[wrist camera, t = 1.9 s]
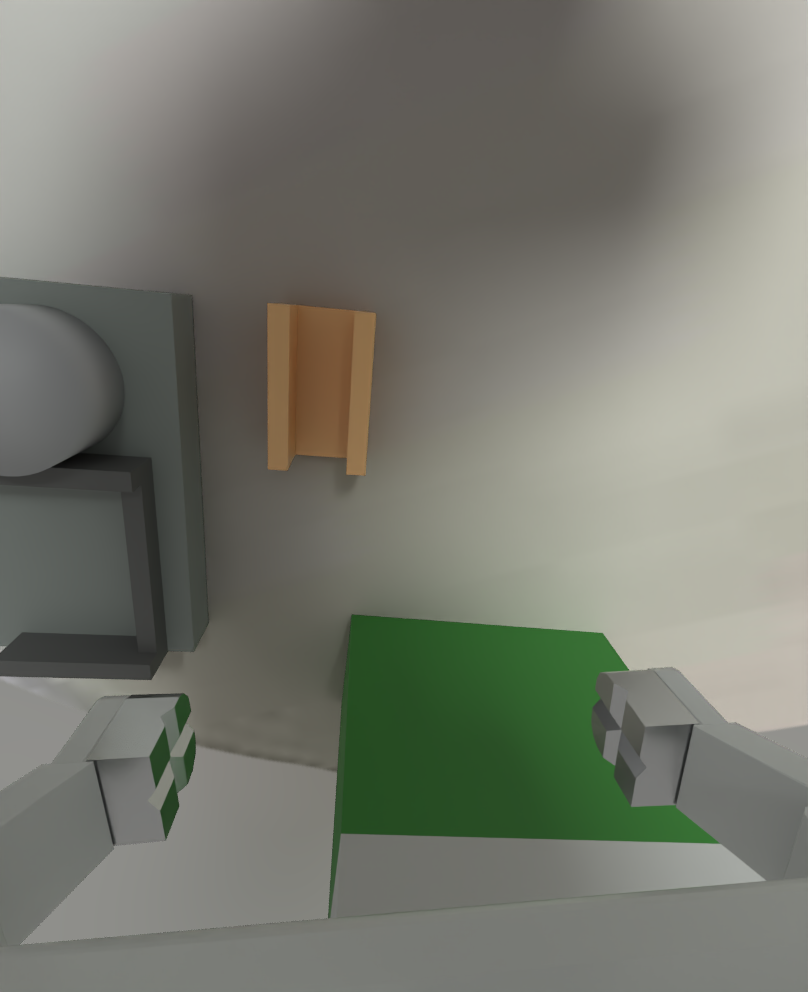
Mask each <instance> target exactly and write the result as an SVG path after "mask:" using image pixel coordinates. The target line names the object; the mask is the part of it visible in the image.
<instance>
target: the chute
mask: <svg viewBox="0 0 808 992" xmlns="http://www.w3.org/2000/svg"><path fill="white" fill-rule="evenodd" d="M375 326H376V313H375V312H365V311H355V310H344V309H334V308H323V307H313V306H302V305H292V304H281V303H267V361H268V469H269V470H285V471H288V469H289V467H290V465H291V462H292V460H293V458H294V456H295V455H308V456H323V457H338V458H347V468H346V474H347V475H362V476H365V474H366V459H367V444H368V429H369V415H370V400H371V385H372V370H373V355H374V341H375Z"/></svg>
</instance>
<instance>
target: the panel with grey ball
mask: <svg viewBox="0 0 808 992" xmlns="http://www.w3.org/2000/svg"><path fill="white" fill-rule="evenodd" d="M208 623H209V622H208V602H207V582H206V563H205V543H204V523H203V503H202V484H201V464H200V444H199V424H198V405H197V385H196V365H195V346H194V326H193V306H192V295H186V294H175V293H165V292H154V291H144V290H133V289H123V288H112V287H101V286H91V285H80V284H70V283H59V282H49V281H38V280H28V279H17V278H6V277H0V646H7V647H6V648H5V649H4V650H3V651H2V652H1V653H0V676H13V677H53V678H94V679H134V680H152V678H153V676H154V674H155V673H156V671H157V669H158V667H159V666H160V664H161V662H162V660H163V659H164V657H165V655H166V653H167V652H168V651H184V652H194V651H195V649H196V647H197V645H198V643H199V641H200V639H201V637H202V635H203V633H204V631H205V629H206V627H207V625H208Z"/></svg>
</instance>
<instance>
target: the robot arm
mask: <svg viewBox="0 0 808 992" xmlns="http://www.w3.org/2000/svg"><path fill="white" fill-rule="evenodd" d="M595 690H596V692H597V693H598V695H599V696H600V698H601V699H600V700H599V701H598V702H597V703H596V704H595V705H594V706H593V707H592V717H591V724H592V731H593V737H594V740H595V743H596V745H597V748H598V750H599V751H600V753H601V755H602V757H603V758H604V759H606V760H607V761H609V762H610V763H612V764H613V765H615V771H614V778H615V780H616V782H617V783H618V785H619V787H620V789H621V790H622V792H623V794H624V796H625V797H626V799H627V801H628V802H629V804H630V806H631V807H640V806H664V805H676V808H677V809H678V810H680V811H681V812H682V813H683V814H685V815H686V816H687V817H688V818H689V819H691V820H692V821H693V822H694V823H696V824H697V825H698V826H699V827H701V828H702V829H703V830H704V831H706V832H707V833H708V834H709V835H710V836H712V837H713V838H714V839H715V840H717V841H718V842H719V843H720V844H722V845H723V846H724V847H725V848H727V849H728V850H729V851H730V852H731V853H733V854H734V855H735V856H736V857H738V858H739V859H740V860H741V861H743V862H744V863H745V864H746V865H748V866H749V867H750V868H751V869H752V870H754V871H755V872H756V873H757V874H759V875H760V876H761V877H762V878H764V879H765V880H766V881H759V882H748V883H736V884H724V885H713V886H701V887H689V888H678V889H666V890H654V891H643V892H631V893H619V894H607V895H595V896H584V897H572V898H560V899H548V900H537V901H525V902H513V903H501V904H490V905H478V906H466V907H455V908H443V909H431V910H420V911H408V912H396V913H385V914H373V915H361V916H350V917H338V918H326V919H315V920H303V921H291V922H280V923H269V924H258V925H245V926H234V927H222V928H210V929H198V930H188V931H176V932H163V933H152V934H140V935H129V936H117V937H105V938H93V939H82V940H71V941H58V942H47V943H35V944H23V945H20V944H21V943H22V942H23V941H24V940H25V939H26V938H27V937H28V936H29V935H30V934H31V933H32V932H33V931H34V930H35V929H36V928H37V927H38V926H39V925H40V923H42V922H43V920H45V918H46V917H48V915H49V914H50V913H51V912H52V911H53V910H54V909H55V908H56V907H57V906H58V905H59V904H60V903H61V902H62V901H63V900H64V899H65V898H66V897H67V896H68V895H69V894H70V893H71V892H72V891H73V890H74V889H75V888H76V887H77V886H78V885H79V884H80V883H81V882H82V881H83V880H84V879H85V878H86V877H87V876H88V875H89V874H90V873H91V872H92V871H93V870H94V869H95V867H97V866H98V865H99V864H100V863H101V862H102V861H103V860H104V858H105V857H106V856H107V855H108V854H109V853H110V852H111V851H112V850H113V849H114V846H117V845H126V844H136V843H147V842H156V841H165V840H166V838H167V836H168V833H169V830H170V828H171V826H172V823H173V821H174V818H175V815H176V813H177V810H178V808H179V802H178V796H177V793H178V792H179V791H180V790H182V789H183V788H184V787H185V786H186V785H187V784H188V782H189V779H190V776H191V773H192V771H193V765H194V759H195V754H196V753H195V752H196V740H195V733H194V730H193V729H192V728H191V727H190V726H189V725H188V724H187V723H186V721H187V719H188V717H189V715H190V712H191V708H190V703H189V698H188V696H187V695H185V694H184V693H182V694H148V695H131V696H129V695H124V696H104V697H102V698H100V699H99V700H97V701H96V703H95V704H94V705H93V707H92V708H91V709H90V711H89V712H88V714H87V715H86V716H85V718H84V719H83V720H82V722H81V723H80V725H79V726H78V728H77V729H76V730H75V732H74V733H73V734H72V736H71V737H70V738H69V740H68V741H67V743H66V744H65V745H64V747H63V748H62V750H61V751H60V752H59V754H58V755H57V756H56V758H55V759H54V760H53V762H52V763H51V764H43V765H40V766H39V767H37V768H36V769H34V770H33V771H31V772H29V773H28V774H26V775H25V776H23V777H22V778H20V779H18V780H17V781H15V782H14V783H12V784H10V785H9V786H7V787H6V788H4V789H3V790H1V791H0V992H808V758H806V757H804V756H802V755H800V754H798V753H796V752H794V751H792V750H790V749H788V748H786V747H784V746H782V745H780V744H778V743H776V742H774V741H772V740H770V739H768V738H766V737H764V736H762V735H760V734H758V733H756V732H754V731H752V730H750V729H748V728H746V727H744V726H742V725H740V724H738V723H736V722H735V723H728V722H727V721H726V720H725V719H724V718H723V717H722V716H721V715H720V714H719V713H718V711H717V710H716V709H715V708H714V707H713V706H712V705H711V704H710V703H709V702H708V701H707V700H706V699H705V698H704V697H703V696H702V695H701V693H700V692H699V691H698V690H697V689H696V688H695V687H694V686H693V685H692V684H691V683H690V682H689V681H688V680H687V679H686V678H685V677H684V675H683V674H682V673H681V672H680V671H679V670H677V669H675V668H673V667H664V668H652V669H647V670H632V671H614V672H600V673H599V675H598V677H597V680H596V686H595Z"/></svg>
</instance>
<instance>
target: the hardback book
mask: <svg viewBox="0 0 808 992" xmlns="http://www.w3.org/2000/svg"><path fill="white" fill-rule="evenodd" d="M614 671H629V669H628V668H627V666H626V665H625V664H624V662H623V661H622V660H621V658H620V657H619V655H618V654H617V653H616V651H615V650H614V648H613V647H612V646H611V644H610V643H609V641H608V640H607V639H606V637H605V636H604V634H603V633H594V632H580V631H567V630H553V629H539V628H526V627H512V626H499V625H485V624H472V623H458V622H445V621H431V620H418V619H404V618H391V617H377V616H364V615H352V617H351V625H350V634H349V643H348V652H347V661H346V670H345V678H344V687H343V696H342V707H341V722H340V738H339V754H338V770H337V785H336V802H335V817H334V833H333V849H332V865H331V880H330V897H329V913H328V918H338V917H350V916H361V915H373V914H385V913H396V912H408V911H420V910H431V909H443V908H455V907H466V906H478V905H490V904H501V903H513V902H525V901H537V900H548V899H560V898H572V897H584V896H595V895H607V894H619V893H631V892H643V891H654V890H666V889H678V888H689V887H701V886H713V885H724V884H736V883H748V882H759V881H766V880H765V879H764V878H762V877H761V876H760V875H759V874H757V873H756V872H755V871H754V870H752V869H751V868H750V867H749V866H748V865H746V864H745V863H744V862H743V861H741V860H740V859H739V858H738V857H736V856H735V855H734V854H733V853H731V852H730V851H729V850H728V849H727V848H725V847H724V846H723V845H722V844H720V843H719V842H718V841H717V840H715V839H714V838H713V837H712V836H710V835H709V834H708V833H707V832H706V831H704V830H703V829H702V828H701V827H699V826H698V825H697V824H696V823H694V822H693V821H692V820H691V819H689V818H688V817H687V816H686V815H685V814H683V813H682V812H681V811H680V810H678V809H677V808H676V805H664V806H640V807H631V806H630V804H629V802H628V801H627V799H626V797H625V796H624V794H623V792H622V790H621V789H620V787H619V785H618V783H617V782H616V780H615V778H614V771H615V765H613V764H612V763H610V762H609V761H607V760H606V759H604V758H603V757H602V755H601V753H600V751H599V750H598V748H597V745H596V743H595V740H594V737H593V731H592V724H591V717H592V707H593V706H594V705H595V704H596V703H597V702H598V701H599V700H600V699H601V698H600V696H599V695H598V693H597V692H596V690H595V686H596V680H597V677H598V675H599V673H600V672H614Z"/></svg>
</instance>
